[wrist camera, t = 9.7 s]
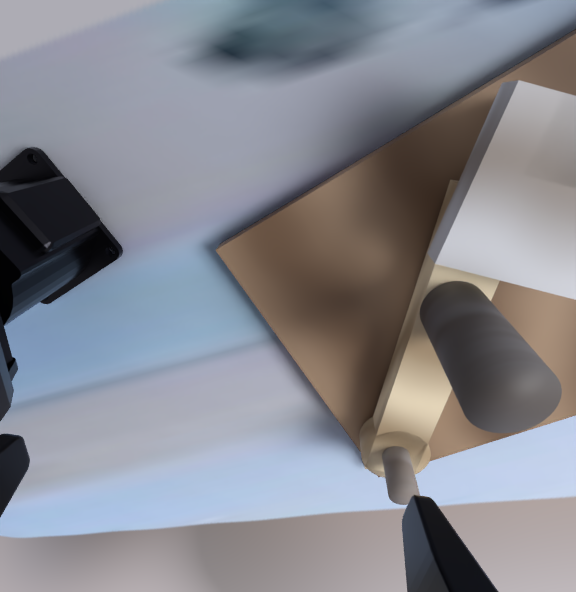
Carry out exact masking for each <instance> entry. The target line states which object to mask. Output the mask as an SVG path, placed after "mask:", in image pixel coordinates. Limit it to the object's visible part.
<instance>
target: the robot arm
mask: <svg viewBox="0 0 576 592" xmlns="http://www.w3.org/2000/svg"><path fill="white" fill-rule="evenodd" d="M33 154H34V155H35V156H36V158H37V163H36V162H35V161H34V159H33ZM109 247H110V248H112V249H113V250H114V251H115V254H113V253H112V252H110V250H109ZM122 253H123V250H122V247H121V245H120V244H119V243H118V242H117V240H116V239H115V238H114V237H113V235H112V234H111V233H110V232H109V231H108V229H107V228H106V227H105V226H104V224H103V223H102V222H101V221H100V218H99V217H98V216H97V214H96V213H95V212H94V211H93V209H92V208H91V207H90V206H89V205H88V203H87V202H86V201H85V200H84V198H83V197H82V196H81V195H80V194H79V192H78V191H77V190H76V189H75V188H74V186H73V185H72V184H71V183H70V181H69V180H68V179H67V178H65V177H64V176H63V175H62V173H61V172H60V171H59V170H58V169H57V167H56V166H55V165H54V164H53V162H52V161H51V160H50V159H49V158H48V156H47V155H46V154H45V153H44V152H43V151H42V150H41V149H39V148H27V149H25V150H24V151H22V152H21V153H20V154H19V155H18V156H17V157H16V158H14V159H13V160H12V161H11V162H10V163H9V164H8V165H6V166H5V167H4V168H3V169H2V170H1V171H0V421H1V420H2V418H3V417H4V415H5V414H6V413H7V411H8V410H9V408H10V407H11V402H12V397H13V392H14V389H13V386H12V382H11V381H12V379H13V378H14V376H15V374H16V372H17V370H18V366H17V362H16V359H15V358H13V357H12V355H11V351H10V347H9V344H8V340H7V336H6V332H5V329H4V326H5V325H6V324H8V323H9V322H11V321H12V320H14V319H15V318H17V317H18V316H20V315H21V314H23V313H24V312H25V311H27V310H28V309H30V308H31V307H33V306H34V305H36V304H37V303H39V302H41V303H43V304H49V303H51V302H53V301H54V300H56V299H57V298H59V297H60V296H62V295H63V294H65V293H66V292H68V291H69V290H71V289H72V288H74V287H75V286H77V285H79V284H80V283H82V282H83V281H85V280H86V279H88V278H89V277H91V276H92V275H94V274H95V273H97V272H98V271H100V270H101V269H103V268H104V267H106V266H107V265H109V264H110V263H112V262H113V261H115V260H117V259H118V258H119V257H120V256H121V255H122ZM29 463H30V458H29V455H28V452H27V448H26V445H25V442H24V439H23V437H21V436H19V435H12V434H1V435H0V517H1V515H2V514H3V512H4V510H5V508H6V507H7V505H8V503H9V501H10V500H11V498H12V496H13V494H14V493H15V491H16V489H17V487H18V486H19V484H20V482H21V480H22V479H23V477H24V475H25V473H26V472H27V470H28V467H29ZM402 532H403V543H404V556H405V568H406V580H407V592H498V591H497V589H496V588H495V586H494V585H493V584H492V582H491V581H490V579H489V578H488V576H487V575H486V574H485V572H484V571H483V569H482V568H481V567H480V565H479V564H478V562H477V561H476V560H475V558H474V557H473V555H472V554H471V552H470V551H469V550H468V548H467V547H466V545H465V544H464V543H463V541H462V540H461V538H460V537H459V536H458V534H457V533H456V531H455V530H454V529H453V527H452V526H451V524H450V523H449V521H448V520H447V519H446V517H445V516H444V514H443V513H442V512H441V510H440V509H439V507H438V506H437V505H436V503H435V502H434V501H433V500H432V499H431V498H430V497H426V496H419V495H413V496H412V497H411V498H410V501H409V503H408V506H407V508H406V510H405V513H404V516H403V519H402Z"/></svg>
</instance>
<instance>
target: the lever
mask: <svg viewBox="0 0 576 592" xmlns="http://www.w3.org/2000/svg"><path fill="white" fill-rule="evenodd" d="M458 182H459V181H456V180H450V182H449V186H448V189H447V192H446V195H445V198H444V201H443V204H442V207H441V210H440V213H439V216H438V219H437V222H436V225H435V228H434V231H433V234H432V238H431V241H430V244H429V247H428V250H429V248H430V246H431V243H432V241H433V239H434V236H435V234H436V232H437V230H438V227H439V225H440V223H441V221H442V218H443V216H444V214H445V211H446V209H447V207H448V205H449V202H450V200H451V198H452V196H453V193H454V191H455V189H456V186H457V184H458ZM428 250H427V252H428ZM499 281H500V280H497V279H493V278H489V277H485V276H481V275H477V274H473V273H469V272H465V271H461V270H458V269H454V268H450V267H446V266H442V265H438V264H435V263H434V262H433V260H432V259H431V258H430V256H429V255H428V253H426V256H425V259H424V262H423V265H422V268H421V271H420V274H419V277H418V280H417V283H416V286H415V289H414V293H413V296H412V299H411V302H410V305H409V308H408V311H407V314H406V317H405V320H404V323H403V326H402V329H401V332H400V335H399V338H398V341H397V345H396V348H395V351H394V354H393V357H392V360H391V363H390V366H389V369H388V372H387V375H386V378H385V381H384V384H383V387H382V390H381V393H380V396H379V400H378V403H377V406H376V409H375V412H374V415H373V417H371V418H370V419H368V420H367V421H366V422H365V423H364V424H363V426H362V427H361V429H360V433H359V439H360V448H361V457H362V461H363V463H364V466H365V469H368V470H369V471H371V472H372V473H374V474H376V475H378V476H381V477H385V478H386V483H387V489H388V495H389V498H390V500H391V501H392V502H394V503H396V504H401V505H407V504H408V503H409V501H410V498H411V497H412V496H413V495H420V494H419V490H418V486H417V482H416V478H415V474H417V473H419V472H420V471H422V470H423V469H424V468H425V467H426V466H427V464H428V463H429V461H430V457H431V451H430V447H429V444H428V443H429V440H430V438H431V436H432V434H433V431H434V429H435V427H436V424H437V422H438V420H439V418H440V415H441V413H442V411H443V409H444V406H445V404H446V402H447V400H448V397H449V395H450V393H451V390H452V389H453V391H454V393H455V395H456V398H457V400H458V402H459V404H460V406H461V408H462V410H463V413H464V415H465V416H466V418H467V419H468V420H469V422H471V423H472V424H473V425H474V426H476V427H477V428H480V429H482V430H485V431H488V432H493V433H513V432H519V431H523V430H526V429H529V428H531V427H534V426H536V425H537V424H539V423H541V422H542V421H544V420H545V419H546V418H548V417H549V416H550V415H551V414H552V413H553V412H554V410H555V409H556V408H557V406H558V404H559V402H560V399H561V395H562V388H561V383H560V381H559V379H558V378H557V376H556V375H555V374H554V373H553V372H552V370H551V369H550V368H549V367H548V366H547V365H546V364H545V362H544V361H543V360H542V359H541V358H540V357H539V356H538V354H537V353H536V352H535V351H534V350H533V349H532V348H531V346H530V345H529V344H528V343H527V342H526V341H525V340H524V338H523V337H522V336H521V335H520V334H519V333H518V332H517V330H516V329H515V328H514V327H513V326H512V325H511V324H510V322H509V321H508V320H507V319H506V318H505V317H504V316H503V315H502V313H501V312H500V311H499V310H498V309H497V308H496V307H495V305H494V304H493V303H492V302H491V300H492V297H493V295H494V293H495V291H496V288H497V286H498V284H499Z"/></svg>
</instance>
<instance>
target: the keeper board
mask: <svg viewBox="0 0 576 592" xmlns="http://www.w3.org/2000/svg"><path fill="white" fill-rule="evenodd" d="M450 180H456V181H459V182H458V184H457V186H456V189H455V191H454V193H453V196H452V198H451V200H450V202H449V205H448V207H447V209H446V211H445V214H444V216H443V218H442V221H441V223H440V225H439V227H438V230H437V232H436V234H435V236H434V239H433V241H432V243H431V246H430V248H429V250H428V247H429V244H430V241H431V238H432V234H433V231H434V228H435V225H436V222H437V219H438V216H439V213H440V210H441V207H442V204H443V201H444V198H445V195H446V192H447V189H448V186H449V182H450ZM427 250H428V252H427ZM216 252H217V253H218V254H219V256H220V257H221V259H222V260H223V261H224V263H225V264H226V266H227V267H228V268H229V270H230V271H231V273H232V274H233V275H234V277H235V278H236V279H237V281H238V282H239V284H240V285H241V286H242V288H243V289H244V291H245V292H246V293H247V295H248V296H249V298H250V299H251V300H252V302H253V303H254V305H255V306H256V307H257V309H258V310H259V311H260V313H261V314H262V316H263V317H264V318H265V320H266V321H267V323H268V324H269V325H270V327H271V328H272V330H273V331H274V332H275V334H276V335H277V337H278V338H279V339H280V341H281V342H282V343H283V345H284V346H285V348H286V349H287V350H288V352H289V353H290V355H291V356H292V357H293V359H294V360H295V362H296V363H297V364H298V366H299V367H300V369H301V370H302V371H303V373H304V374H305V375H306V377H307V378H308V380H309V381H310V382H311V384H312V385H313V387H314V388H315V389H316V391H317V392H318V394H319V395H320V396H321V398H322V399H323V401H324V402H325V403H326V405H327V406H328V407H329V409H330V410H331V412H332V413H333V414H334V416H335V417H336V419H337V420H338V421H339V423H340V424H341V426H342V427H343V428H344V430H345V431H346V433H347V434H348V435H349V437H350V438H351V439H352V441H353V442H354V444H355V445H356V446H357V448H358V449H359V451H360V452H361V448H360V439H359V433H360V429H361V427H362V426H363V424H364V423H365V422H366V421H367V420H368V419H370V418H371V417H373V415H374V412H375V409H376V406H377V403H378V400H379V396H380V393H381V390H382V387H383V384H384V381H385V378H386V375H387V372H388V369H389V366H390V363H391V360H392V357H393V354H394V351H395V348H396V345H397V341H398V338H399V335H400V332H401V329H402V326H403V323H404V320H405V317H406V314H407V311H408V308H409V305H410V302H411V299H412V296H413V293H414V289H415V286H416V283H417V280H418V277H419V274H420V271H421V268H422V265H423V262H424V259H425V256H426V253H428V255H429V256H430V258H431V259H432V260H433V262H434V263H435V264H438V265H442V266H446V267H450V268H454V269H458V270H461V271H465V272H469V273H473V274H477V275H481V276H485V277H489V278H493V279H497V280H500V281H499V284H498V286H497V288H496V291H495V293H494V295H493V297H492V300H491V302H492V303H493V304H494V305H495V307H496V308H497V309H498V310H499V311H500V312H501V313H502V315H503V316H504V317H505V318H506V319H507V320H508V321H509V322H510V324H511V325H512V326H513V327H514V328H515V329H516V330H517V332H518V333H519V334H520V335H521V336H522V337H523V338H524V340H525V341H526V342H527V343H528V344H529V345H530V346H531V348H532V349H533V350H534V351H535V352H536V353H537V354H538V356H539V357H540V358H541V359H542V360H543V361H544V362H545V364H546V365H547V366H548V367H549V368H550V369H551V370H552V372H553V373H554V374H555V375H556V376H557V378H558V379H559V381H560V383H561V388H562V395H561V399H560V402H559V404H558V406H557V408H556V409H555V410H554V412H553V413H552V414H551V415H550V416H549V417H548V418H546V419H545V420H544V421H542V422H541V423H539V424H537V425H536V426H534V427H531V428H529V429H526V430H523V431H519V432H513V433H493V432H488V431H485V430H482V429H480V428H477V427H476V426H474V425H473V424H472V423H471V422H469V420H468V419H467V418H466V416H465V415H464V413H463V410H462V408H461V406H460V404H459V402H458V400H457V398H456V395H455V393H454V391H453V389H452V390H451V393H450V395H449V397H448V400H447V402H446V404H445V406H444V409H443V411H442V413H441V415H440V418H439V420H438V422H437V424H436V427H435V429H434V431H433V434H432V436H431V438H430V440H429V443H428V444H429V447H430V451H431V457H430V461H432V460H435V459H438V458H442V457H445V456H448V455H451V454H454V453H457V452H461V451H464V450H467V449H470V448H473V447H477V446H480V445H483V444H486V443H489V442H492V441H496V440H499V439H502V438H505V437H508V436H512V435H515V434H518V433H521V432H524V431H527V430H531V429H534V428H537V427H540V426H543V425H547V424H550V423H553V422H556V421H559V420H562V419H566V418H569V417H572V416H575V415H576V29H575V30H574V31H572V32H570V33H569V34H567V35H565V36H564V37H562V38H560V39H559V40H557V41H555V42H554V43H552V44H550V45H549V46H547V47H545V48H544V49H542V50H540V51H539V52H537V53H535V54H534V55H532V56H530V57H529V58H527V59H526V60H524V61H522V62H521V63H519V64H517V65H516V66H514V67H512V68H511V69H509V70H507V71H506V72H504V73H502V74H501V75H499V76H497V77H496V78H494V79H492V80H491V81H489V82H487V83H486V84H484V85H482V86H481V87H479V88H478V89H476V90H474V91H473V92H471V93H469V94H468V95H466V96H464V97H463V98H461V99H459V100H458V101H456V102H454V103H453V104H451V105H449V106H448V107H446V108H444V109H443V110H441V111H439V112H438V113H436V114H434V115H433V116H431V117H430V118H428V119H426V120H425V121H423V122H421V123H420V124H418V125H416V126H415V127H413V128H411V129H410V130H408V131H406V132H405V133H403V134H401V135H400V136H398V137H396V138H395V139H393V140H391V141H390V142H388V143H386V144H385V145H383V146H382V147H380V148H378V149H377V150H375V151H373V152H372V153H370V154H368V155H367V156H365V157H363V158H362V159H360V160H358V161H357V162H355V163H353V164H352V165H350V166H348V167H347V168H345V169H343V170H342V171H340V172H338V173H337V174H335V175H334V176H332V177H330V178H329V179H327V180H325V181H324V182H322V183H320V184H319V185H317V186H315V187H314V188H312V189H310V190H309V191H307V192H305V193H304V194H302V195H300V196H299V197H297V198H295V199H294V200H292V201H290V202H289V203H287V204H286V205H284V206H282V207H281V208H279V209H277V210H276V211H274V212H272V213H271V214H269V215H267V216H266V217H264V218H262V219H261V220H259V221H257V222H256V223H254V224H252V225H251V226H249V227H247V228H246V229H244V230H242V231H241V232H239V233H238V234H236V235H234V236H233V237H231V238H229V239H228V240H226V241H224V242H223V243H221V244H220V245H219V246H218V248H217V249H216ZM377 476H378V475H377ZM378 477H381V476H378Z"/></svg>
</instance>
